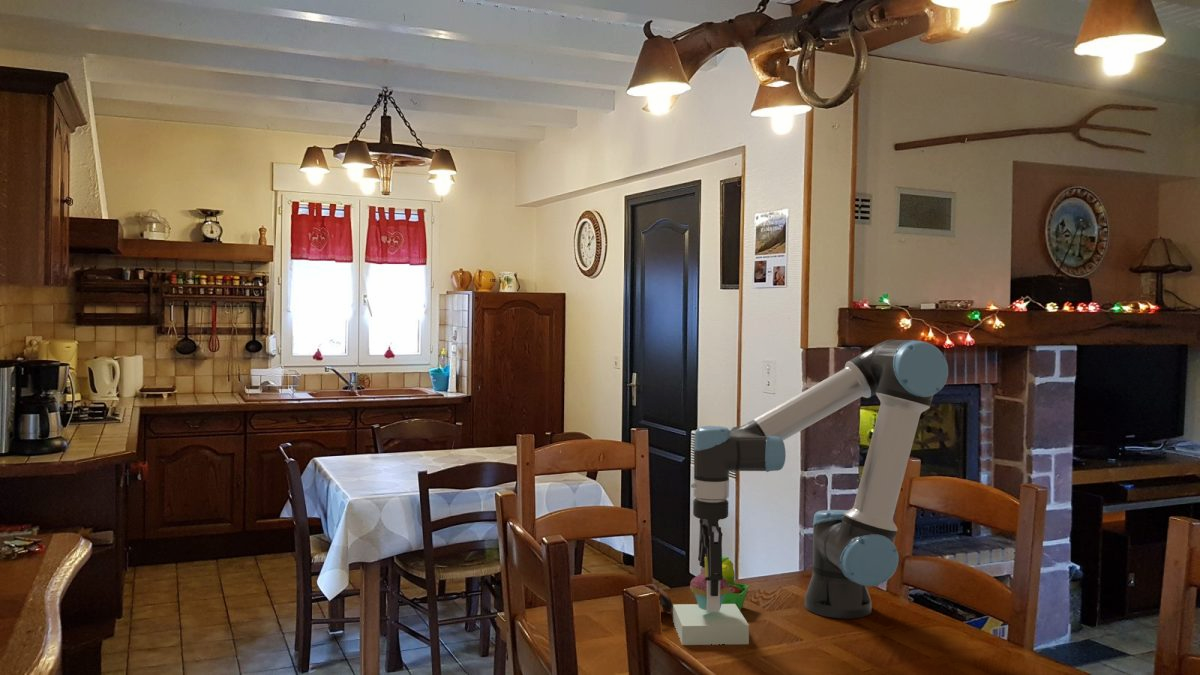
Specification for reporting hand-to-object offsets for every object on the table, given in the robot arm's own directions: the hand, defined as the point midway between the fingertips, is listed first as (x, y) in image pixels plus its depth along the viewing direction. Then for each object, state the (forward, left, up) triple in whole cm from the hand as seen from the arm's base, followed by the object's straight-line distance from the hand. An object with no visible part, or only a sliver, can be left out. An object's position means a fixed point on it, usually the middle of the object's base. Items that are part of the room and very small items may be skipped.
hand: (709, 603), depth 196 cm
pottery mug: (+11, -12, -7) cm, 17 cm away
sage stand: (0, 0, -6) cm, 6 cm away
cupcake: (0, 0, -1) cm, 1 cm away
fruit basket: (-6, -17, -7) cm, 19 cm away
